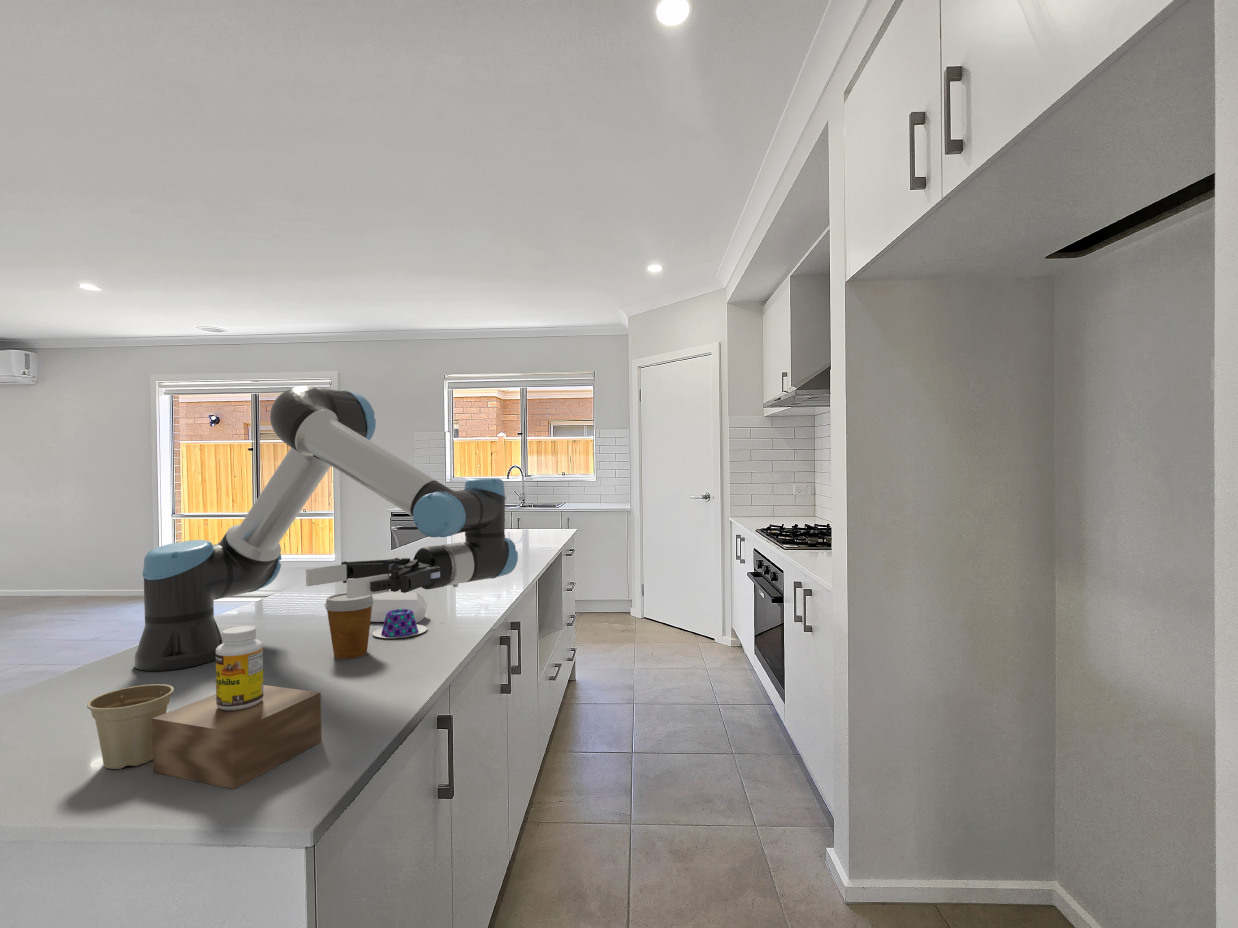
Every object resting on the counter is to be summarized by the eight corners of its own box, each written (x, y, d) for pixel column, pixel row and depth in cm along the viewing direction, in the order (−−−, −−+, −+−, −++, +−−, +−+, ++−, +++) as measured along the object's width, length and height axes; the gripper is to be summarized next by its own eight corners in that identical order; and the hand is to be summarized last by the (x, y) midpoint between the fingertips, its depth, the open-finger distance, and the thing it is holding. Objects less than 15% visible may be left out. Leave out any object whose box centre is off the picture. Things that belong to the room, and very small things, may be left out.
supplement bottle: (206, 709, 87) (204, 633, 87) (241, 695, 93) (240, 622, 93) (239, 714, 86) (237, 635, 86) (273, 698, 91) (271, 625, 91)
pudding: (419, 640, 146) (419, 617, 146) (364, 641, 145) (364, 618, 145) (432, 626, 158) (432, 604, 158) (382, 627, 157) (381, 605, 157)
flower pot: (119, 745, 93) (118, 684, 93) (189, 742, 94) (188, 682, 94) (69, 777, 84) (68, 710, 84) (148, 773, 84) (146, 707, 84)
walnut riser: (153, 772, 85) (152, 718, 85) (247, 729, 98) (246, 682, 98) (234, 788, 80) (233, 731, 80) (321, 741, 93) (320, 692, 93)
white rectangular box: (321, 609, 160) (416, 610, 157) (335, 589, 166) (426, 590, 163) (330, 631, 164) (423, 633, 161) (343, 611, 170) (432, 612, 167)
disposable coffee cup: (383, 647, 139) (382, 591, 139) (361, 661, 130) (360, 601, 130) (340, 647, 140) (339, 591, 140) (315, 661, 131) (314, 601, 131)
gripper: (485, 596, 111) (367, 620, 95) (404, 577, 127) (292, 595, 111) (485, 552, 111) (367, 568, 95) (404, 539, 127) (291, 551, 111)
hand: (326, 583), depth 103 cm, fingers open, 13 cm apart
